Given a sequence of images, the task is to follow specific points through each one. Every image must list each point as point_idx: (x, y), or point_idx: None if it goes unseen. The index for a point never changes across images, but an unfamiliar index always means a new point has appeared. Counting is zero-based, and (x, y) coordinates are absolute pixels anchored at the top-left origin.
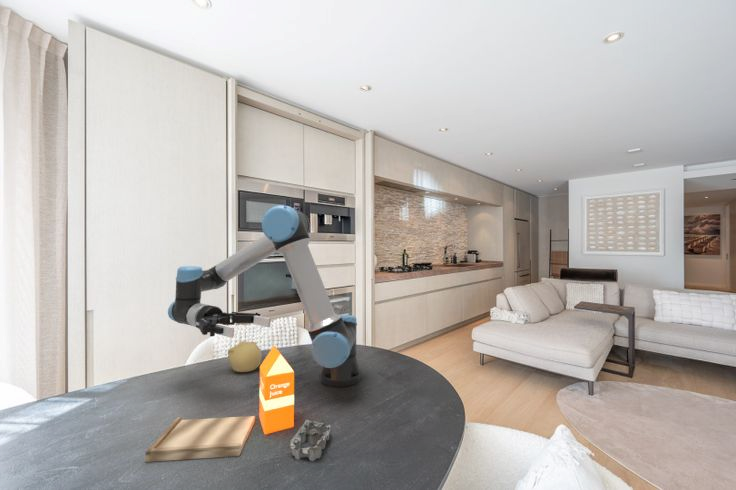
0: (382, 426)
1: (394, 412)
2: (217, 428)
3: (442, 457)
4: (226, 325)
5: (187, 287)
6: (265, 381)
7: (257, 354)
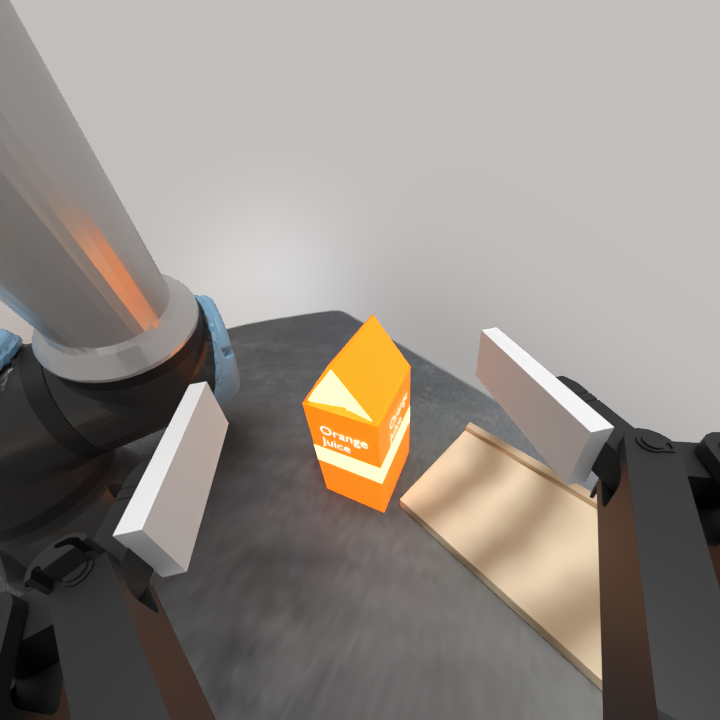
0: (285, 361)
1: (243, 368)
2: (492, 518)
3: (307, 316)
4: (522, 368)
5: None
6: (409, 372)
7: None
